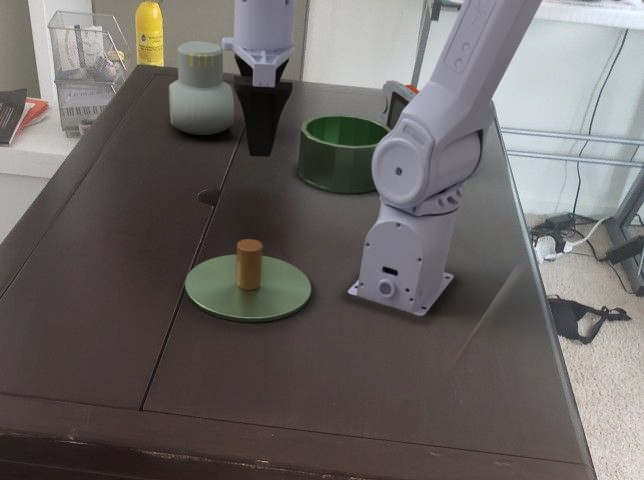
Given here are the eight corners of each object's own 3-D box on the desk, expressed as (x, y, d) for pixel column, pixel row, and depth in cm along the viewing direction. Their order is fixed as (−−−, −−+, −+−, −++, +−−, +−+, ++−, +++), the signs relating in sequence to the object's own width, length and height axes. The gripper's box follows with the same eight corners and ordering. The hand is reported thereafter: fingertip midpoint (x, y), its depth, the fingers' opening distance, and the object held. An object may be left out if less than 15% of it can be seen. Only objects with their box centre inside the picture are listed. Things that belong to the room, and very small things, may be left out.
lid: (273, 342, 67) (276, 291, 63) (160, 303, 70) (157, 252, 67) (330, 285, 74) (336, 237, 71) (226, 252, 78) (227, 205, 75)
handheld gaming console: (371, 137, 104) (380, 73, 99) (390, 135, 105) (400, 72, 100) (416, 177, 95) (429, 110, 89) (437, 176, 96) (451, 109, 90)
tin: (364, 201, 89) (371, 154, 85) (282, 179, 93) (285, 133, 89) (399, 171, 96) (406, 127, 92) (321, 151, 100) (325, 108, 96)
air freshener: (235, 143, 100) (236, 60, 93) (173, 143, 99) (170, 59, 92) (226, 115, 108) (227, 36, 101) (169, 115, 107) (166, 34, 99)
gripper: (224, -32, 74) (222, 115, 83) (220, 3, 63) (219, 166, 73) (294, -28, 74) (285, 118, 84) (302, 8, 64) (291, 169, 73)
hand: (259, 141), depth 78 cm, fingers open, 7 cm apart
